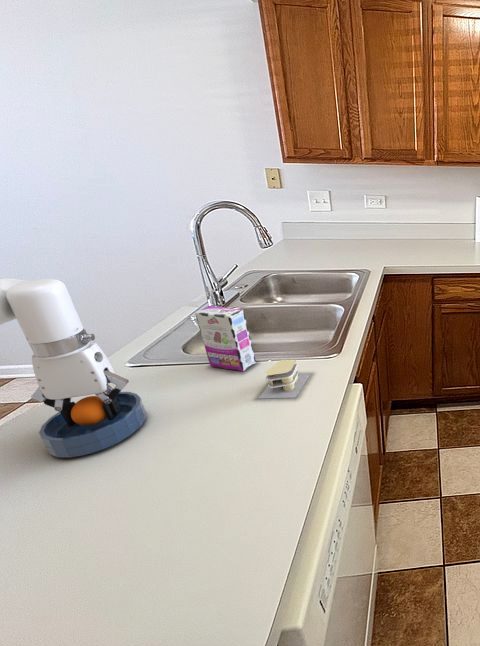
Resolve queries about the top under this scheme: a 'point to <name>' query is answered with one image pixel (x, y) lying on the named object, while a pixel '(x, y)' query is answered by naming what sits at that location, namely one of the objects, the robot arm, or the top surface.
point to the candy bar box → (226, 338)
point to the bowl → (93, 430)
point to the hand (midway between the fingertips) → (95, 418)
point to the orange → (88, 411)
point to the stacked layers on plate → (284, 380)
